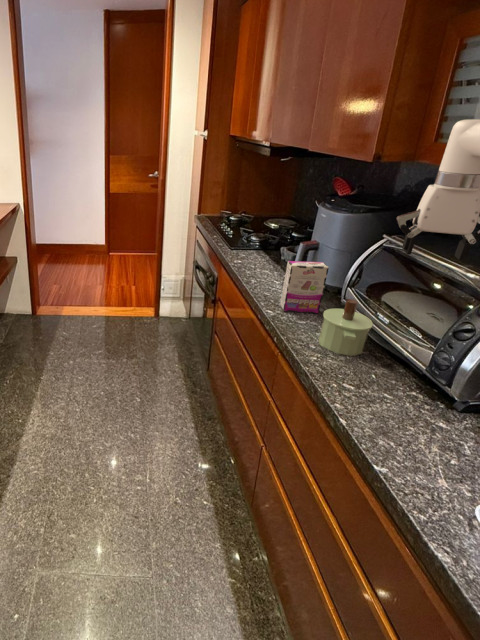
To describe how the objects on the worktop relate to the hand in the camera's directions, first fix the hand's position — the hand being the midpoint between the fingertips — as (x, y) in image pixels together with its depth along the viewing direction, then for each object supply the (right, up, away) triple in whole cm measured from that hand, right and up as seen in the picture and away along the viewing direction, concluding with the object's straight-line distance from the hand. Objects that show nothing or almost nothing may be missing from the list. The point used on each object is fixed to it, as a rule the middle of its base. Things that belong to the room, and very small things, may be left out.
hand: (432, 255), depth 89 cm
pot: (-9, -25, +19) cm, 33 cm away
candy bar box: (-10, -17, +40) cm, 45 cm away
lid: (-9, -17, +16) cm, 25 cm away
